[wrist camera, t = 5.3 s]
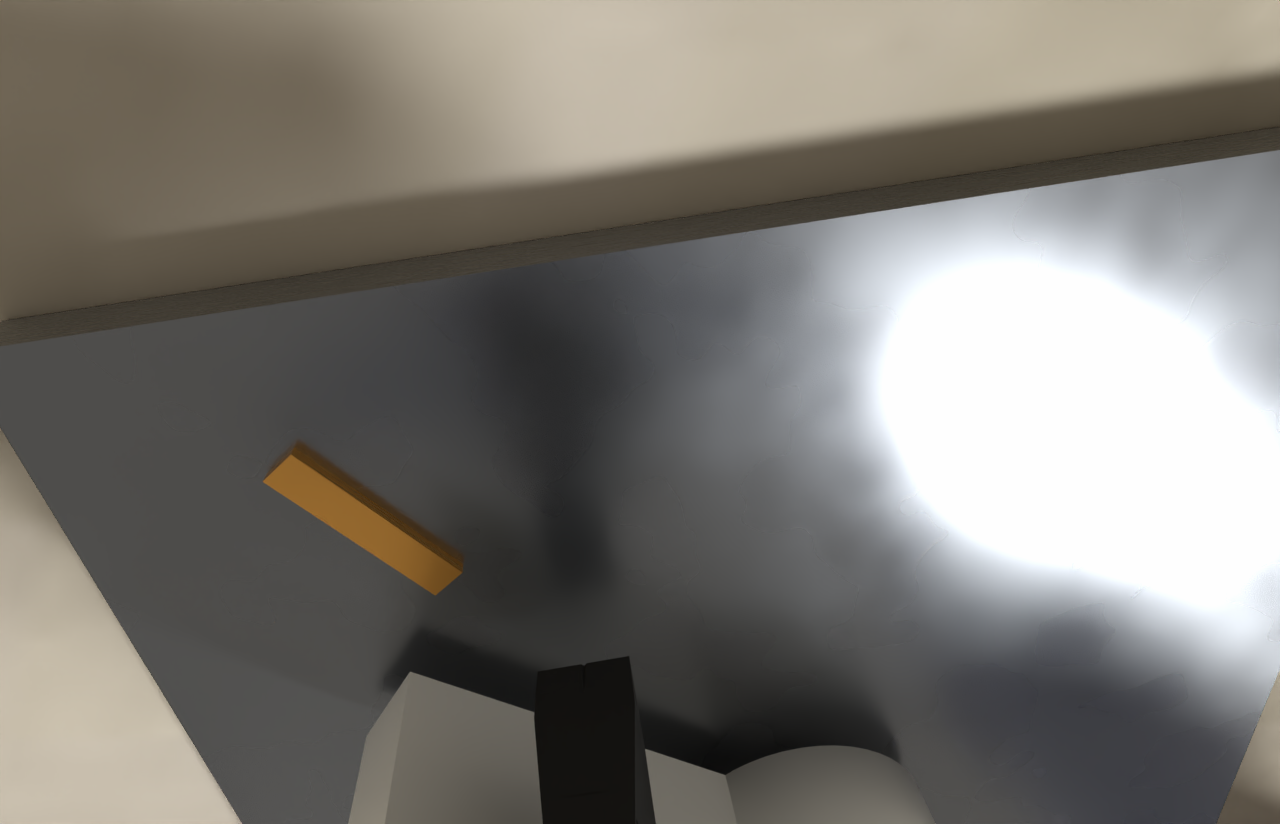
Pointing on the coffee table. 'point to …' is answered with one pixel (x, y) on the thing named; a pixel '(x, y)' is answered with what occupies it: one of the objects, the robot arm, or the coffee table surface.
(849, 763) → the white block
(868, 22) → the coffee table surface
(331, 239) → the coffee table surface
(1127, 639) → the base plate
